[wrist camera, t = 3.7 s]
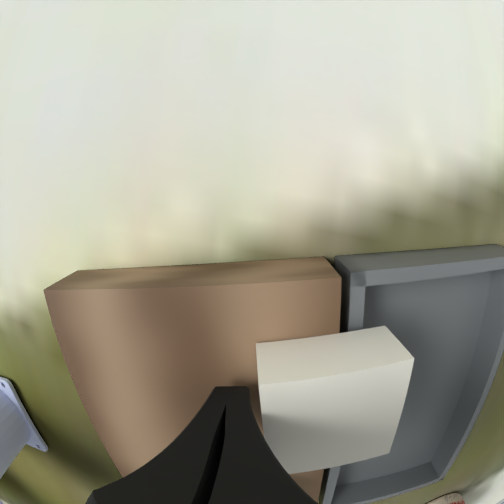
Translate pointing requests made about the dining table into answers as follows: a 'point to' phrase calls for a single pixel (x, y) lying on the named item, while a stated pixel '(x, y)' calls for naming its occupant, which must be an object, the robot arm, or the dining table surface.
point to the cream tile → (332, 397)
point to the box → (424, 357)
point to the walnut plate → (182, 341)
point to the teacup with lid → (448, 499)
